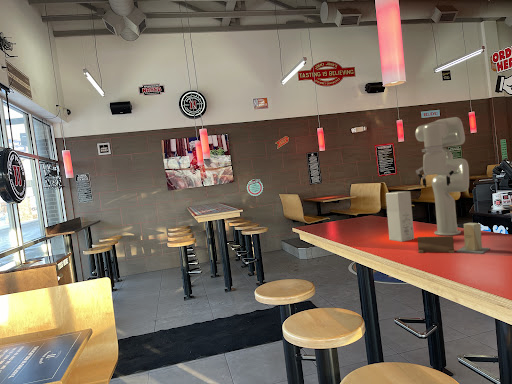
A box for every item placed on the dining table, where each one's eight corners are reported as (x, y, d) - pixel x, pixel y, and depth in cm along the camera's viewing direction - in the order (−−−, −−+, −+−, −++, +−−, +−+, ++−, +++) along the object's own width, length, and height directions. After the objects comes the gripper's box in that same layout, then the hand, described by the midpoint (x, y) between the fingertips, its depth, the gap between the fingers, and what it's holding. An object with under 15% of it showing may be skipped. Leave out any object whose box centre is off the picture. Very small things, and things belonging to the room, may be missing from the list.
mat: (464, 247, 167) (464, 246, 167) (489, 248, 160) (489, 248, 160) (456, 251, 160) (456, 251, 160) (482, 253, 153) (482, 252, 153)
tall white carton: (401, 237, 204) (397, 191, 203) (414, 239, 196) (410, 191, 195) (389, 239, 201) (385, 193, 200) (401, 241, 193) (397, 193, 192)
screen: (418, 250, 170) (417, 236, 169) (453, 250, 164) (452, 235, 164) (418, 252, 165) (417, 238, 165) (454, 252, 159) (453, 237, 159)
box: (464, 249, 162) (462, 223, 161) (471, 247, 163) (469, 222, 163) (475, 251, 157) (473, 224, 156) (483, 249, 158) (480, 223, 158)
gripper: (413, 152, 179) (417, 188, 180) (454, 148, 172) (457, 185, 173) (414, 152, 186) (417, 187, 187) (453, 148, 179) (456, 184, 180)
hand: (436, 186), depth 180 cm, fingers open, 9 cm apart
